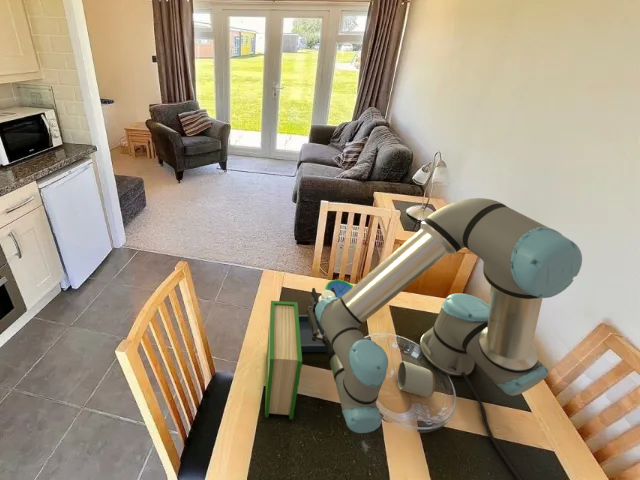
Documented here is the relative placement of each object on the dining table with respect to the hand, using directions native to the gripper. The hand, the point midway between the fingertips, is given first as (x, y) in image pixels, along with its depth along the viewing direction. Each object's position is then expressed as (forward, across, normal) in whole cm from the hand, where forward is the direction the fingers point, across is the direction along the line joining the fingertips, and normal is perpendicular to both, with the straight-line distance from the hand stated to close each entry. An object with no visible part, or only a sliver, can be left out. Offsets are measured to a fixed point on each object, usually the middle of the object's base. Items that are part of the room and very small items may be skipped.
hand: (322, 291), depth 100 cm
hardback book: (-18, -15, -18) cm, 30 cm away
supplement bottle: (-5, 0, -6) cm, 8 cm away
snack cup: (+9, +10, -18) cm, 22 cm away
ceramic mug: (-19, +24, -18) cm, 36 cm away
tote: (-2, -4, -18) cm, 19 cm away
